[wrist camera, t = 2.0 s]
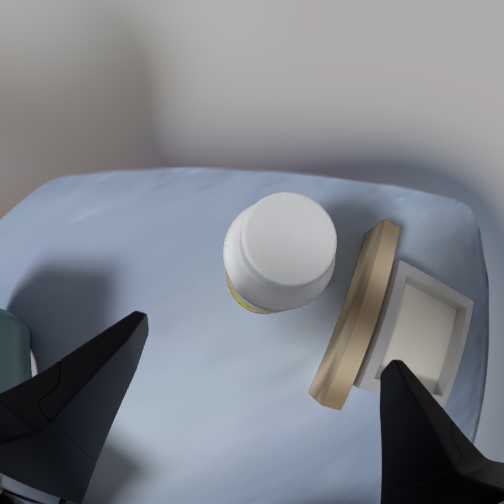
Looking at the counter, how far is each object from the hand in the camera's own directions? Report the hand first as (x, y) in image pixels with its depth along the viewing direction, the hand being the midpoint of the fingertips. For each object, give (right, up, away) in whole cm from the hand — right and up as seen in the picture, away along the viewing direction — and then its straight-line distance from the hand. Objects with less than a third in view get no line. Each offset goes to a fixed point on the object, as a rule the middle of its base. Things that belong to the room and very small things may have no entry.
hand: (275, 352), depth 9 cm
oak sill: (+7, -2, +12) cm, 14 cm away
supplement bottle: (0, +1, +12) cm, 12 cm away
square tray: (+14, -4, +11) cm, 18 cm away
